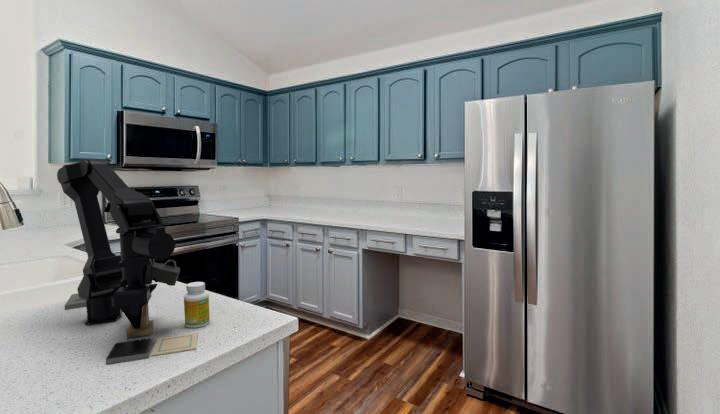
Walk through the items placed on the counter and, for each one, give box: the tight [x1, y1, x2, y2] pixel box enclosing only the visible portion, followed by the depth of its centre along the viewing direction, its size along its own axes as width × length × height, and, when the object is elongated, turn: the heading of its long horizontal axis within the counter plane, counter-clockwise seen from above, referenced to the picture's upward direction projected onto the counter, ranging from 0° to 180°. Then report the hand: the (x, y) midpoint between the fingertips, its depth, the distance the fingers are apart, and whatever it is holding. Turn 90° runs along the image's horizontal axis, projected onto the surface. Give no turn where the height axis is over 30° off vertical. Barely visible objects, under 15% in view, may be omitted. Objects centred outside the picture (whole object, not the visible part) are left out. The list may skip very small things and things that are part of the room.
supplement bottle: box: [183, 281, 210, 329], centre depth 89 cm, size 5×5×10 cm
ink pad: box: [105, 337, 155, 365], centre depth 75 cm, size 7×7×1 cm
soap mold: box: [64, 286, 152, 311], centre depth 108 cm, size 10×20×4 cm, turn 120°
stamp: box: [126, 302, 155, 340], centre depth 84 cm, size 4×4×6 cm
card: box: [151, 332, 199, 357], centre depth 79 cm, size 8×8×1 cm
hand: (140, 323), depth 84 cm, fingers open, 6 cm apart
